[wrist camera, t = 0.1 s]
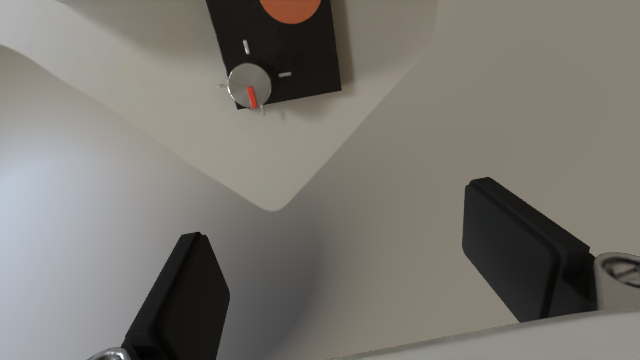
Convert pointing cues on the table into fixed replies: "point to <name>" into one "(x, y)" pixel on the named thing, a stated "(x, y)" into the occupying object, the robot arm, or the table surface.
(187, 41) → the table surface
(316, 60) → the hob
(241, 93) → the hob knob
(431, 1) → the table surface
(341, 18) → the table surface
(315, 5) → the burner ring
